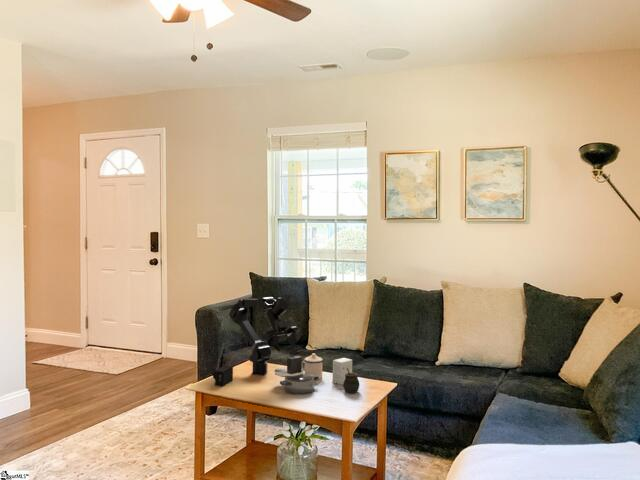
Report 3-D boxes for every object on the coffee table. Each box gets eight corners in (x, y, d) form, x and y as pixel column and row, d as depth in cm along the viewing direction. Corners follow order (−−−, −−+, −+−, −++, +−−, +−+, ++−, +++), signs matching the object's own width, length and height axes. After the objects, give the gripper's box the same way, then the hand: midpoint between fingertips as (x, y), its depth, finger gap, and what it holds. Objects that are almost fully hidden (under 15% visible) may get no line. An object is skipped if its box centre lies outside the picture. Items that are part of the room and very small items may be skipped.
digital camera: (222, 379, 260) (222, 364, 260) (232, 380, 258) (233, 365, 258) (212, 385, 250) (212, 370, 250) (223, 386, 248) (223, 371, 248)
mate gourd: (350, 395, 239) (350, 372, 238) (339, 391, 245) (339, 369, 244) (362, 392, 243) (362, 370, 243) (351, 388, 249) (351, 366, 249)
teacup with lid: (326, 377, 266) (326, 353, 266) (315, 381, 258) (315, 357, 258) (306, 372, 273) (306, 349, 272) (295, 377, 265) (295, 353, 265)
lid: (269, 372, 252) (269, 354, 252) (292, 367, 260) (292, 350, 260) (285, 379, 242) (286, 360, 241) (309, 374, 250) (309, 356, 250)
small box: (343, 379, 263) (344, 357, 263) (352, 381, 259) (352, 359, 259) (332, 382, 258) (332, 360, 257) (340, 384, 254) (341, 362, 253)
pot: (273, 390, 244) (274, 378, 244) (306, 382, 256) (307, 371, 256) (291, 397, 234) (291, 385, 234) (324, 389, 246) (324, 377, 246)
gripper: (268, 314, 250) (281, 344, 244) (298, 310, 263) (311, 338, 257) (256, 326, 257) (268, 355, 251) (286, 321, 270) (298, 349, 264)
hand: (287, 349), depth 255 cm, fingers open, 9 cm apart
